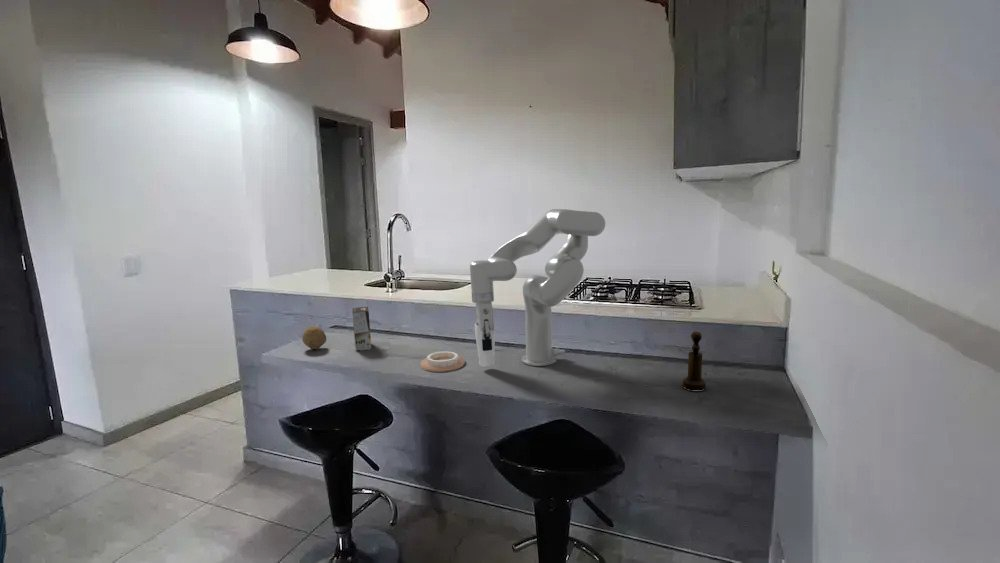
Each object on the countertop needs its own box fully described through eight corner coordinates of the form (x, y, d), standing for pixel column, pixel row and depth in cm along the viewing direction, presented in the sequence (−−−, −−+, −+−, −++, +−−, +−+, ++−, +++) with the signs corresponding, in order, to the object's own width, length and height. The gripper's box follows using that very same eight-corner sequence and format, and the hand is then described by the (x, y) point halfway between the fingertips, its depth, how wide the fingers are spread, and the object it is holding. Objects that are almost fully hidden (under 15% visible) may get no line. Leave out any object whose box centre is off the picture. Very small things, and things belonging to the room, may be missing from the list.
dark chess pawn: (687, 382, 154) (689, 327, 150) (708, 386, 150) (711, 330, 146) (679, 389, 149) (682, 332, 145) (701, 394, 145) (704, 336, 141)
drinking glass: (494, 368, 165) (491, 326, 162) (475, 368, 166) (472, 326, 164) (498, 361, 172) (496, 320, 169) (479, 361, 173) (477, 320, 170)
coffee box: (371, 349, 196) (368, 311, 193) (355, 351, 194) (352, 312, 191) (370, 343, 204) (368, 306, 202) (355, 344, 203) (352, 307, 200)
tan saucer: (462, 355, 185) (462, 347, 185) (466, 369, 170) (466, 361, 169) (420, 358, 183) (419, 351, 182) (421, 373, 167) (420, 365, 167)
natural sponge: (297, 351, 195) (295, 327, 194) (314, 345, 203) (311, 322, 202) (315, 353, 192) (312, 329, 190) (330, 347, 200) (328, 324, 198)
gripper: (498, 301, 157) (500, 353, 160) (489, 291, 173) (492, 338, 177) (475, 303, 155) (478, 356, 159) (469, 292, 172) (472, 340, 175)
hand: (485, 346), depth 168 cm, fingers closed on drinking glass, 6 cm apart
